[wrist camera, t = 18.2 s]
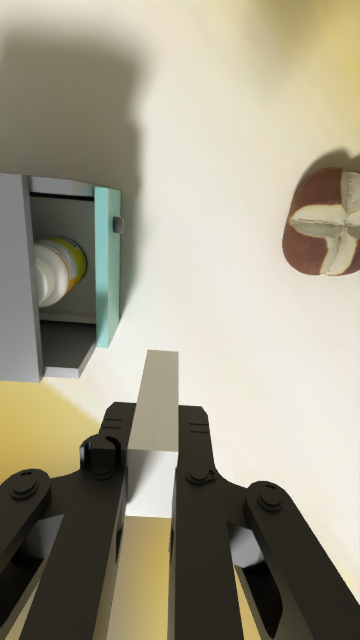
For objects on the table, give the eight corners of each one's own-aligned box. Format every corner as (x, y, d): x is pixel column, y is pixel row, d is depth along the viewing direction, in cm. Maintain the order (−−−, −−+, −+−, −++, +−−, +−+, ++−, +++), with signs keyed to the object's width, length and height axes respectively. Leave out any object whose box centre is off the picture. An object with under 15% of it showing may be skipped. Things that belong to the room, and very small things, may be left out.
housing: (-24, 175, 33) (-152, 159, 20) (108, 187, 34) (66, 178, 21) (-5, 316, 39) (-96, 374, 26) (108, 324, 40) (75, 385, 27)
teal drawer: (-12, 179, 33) (-56, 173, 27) (129, 191, 34) (118, 189, 28) (5, 316, 39) (-28, 338, 33) (126, 324, 40) (116, 348, 33)
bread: (268, 264, 38) (281, 273, 33) (300, 160, 34) (320, 153, 29) (355, 282, 38) (380, 293, 34) (396, 183, 35) (430, 180, 30)
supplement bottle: (48, 289, 36) (1, 322, 26) (31, 240, 34) (-27, 256, 24) (96, 280, 35) (66, 310, 26) (81, 230, 33) (43, 241, 24)
